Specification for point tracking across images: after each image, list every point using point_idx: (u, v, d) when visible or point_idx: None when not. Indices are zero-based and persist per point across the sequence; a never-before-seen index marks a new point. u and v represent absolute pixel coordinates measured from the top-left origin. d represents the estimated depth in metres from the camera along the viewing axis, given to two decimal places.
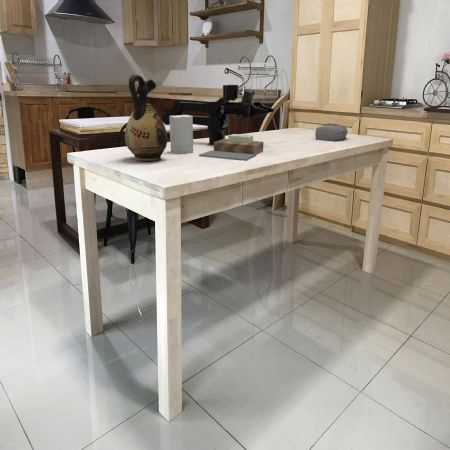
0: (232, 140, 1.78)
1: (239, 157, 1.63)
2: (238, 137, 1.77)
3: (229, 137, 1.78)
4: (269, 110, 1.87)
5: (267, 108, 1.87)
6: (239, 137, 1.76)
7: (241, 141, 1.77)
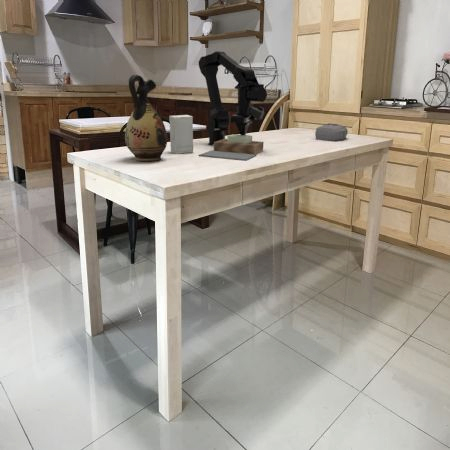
0: (231, 140, 1.77)
1: (239, 157, 1.63)
2: (237, 137, 1.76)
3: (228, 137, 1.77)
4: None
5: None
6: (238, 137, 1.76)
7: (240, 141, 1.76)
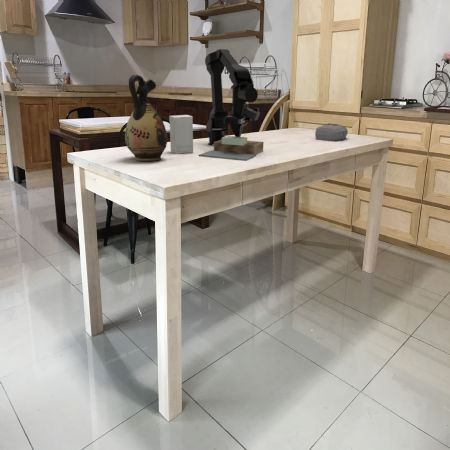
0: (225, 142, 1.71)
1: (239, 157, 1.63)
2: (232, 139, 1.70)
3: (222, 139, 1.72)
4: None
5: None
6: (233, 139, 1.70)
7: (235, 143, 1.70)
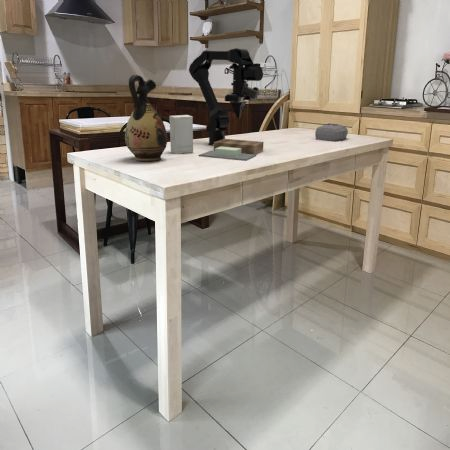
0: None
1: (239, 157, 1.63)
2: None
3: None
4: None
5: None
6: None
7: None
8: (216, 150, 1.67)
